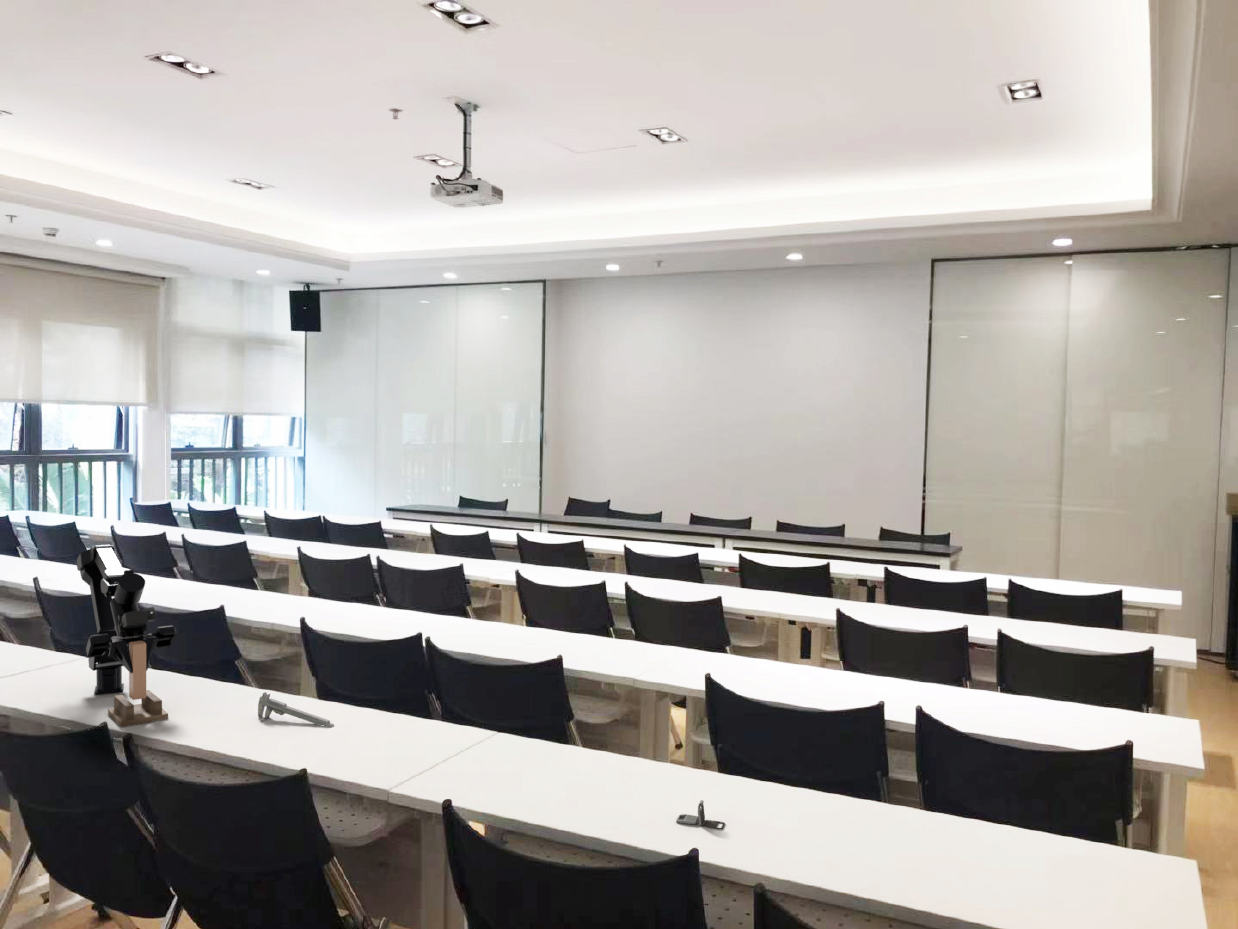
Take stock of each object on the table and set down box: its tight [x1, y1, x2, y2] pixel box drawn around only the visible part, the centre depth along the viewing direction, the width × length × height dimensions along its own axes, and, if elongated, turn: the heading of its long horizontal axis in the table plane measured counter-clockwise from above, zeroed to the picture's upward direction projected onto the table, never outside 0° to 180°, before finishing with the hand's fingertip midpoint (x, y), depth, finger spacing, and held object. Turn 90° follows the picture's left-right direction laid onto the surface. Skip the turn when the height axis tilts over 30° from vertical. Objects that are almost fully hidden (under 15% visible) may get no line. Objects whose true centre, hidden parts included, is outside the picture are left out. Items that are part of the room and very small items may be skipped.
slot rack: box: [107, 689, 169, 728], centre depth 218 cm, size 12×10×4 cm
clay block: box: [128, 641, 147, 701], centre depth 218 cm, size 4×3×13 cm
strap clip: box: [675, 799, 726, 831], centre depth 165 cm, size 8×3×4 cm, turn 73°
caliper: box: [257, 691, 335, 728], centre depth 216 cm, size 20×1×6 cm, turn 73°
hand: (139, 671), depth 217 cm, fingers closed on clay block, 3 cm apart
